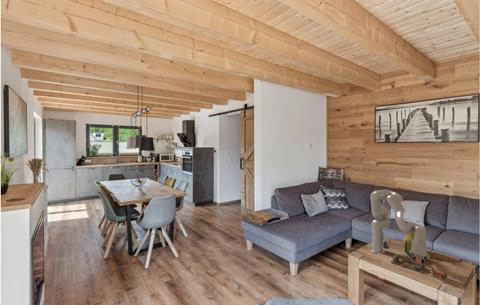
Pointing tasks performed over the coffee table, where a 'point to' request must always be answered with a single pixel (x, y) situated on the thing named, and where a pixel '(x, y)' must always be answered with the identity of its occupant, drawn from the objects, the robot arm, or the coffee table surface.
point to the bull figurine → (438, 273)
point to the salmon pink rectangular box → (418, 263)
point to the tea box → (407, 248)
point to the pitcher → (408, 237)
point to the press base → (406, 264)
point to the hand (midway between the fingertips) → (418, 262)
